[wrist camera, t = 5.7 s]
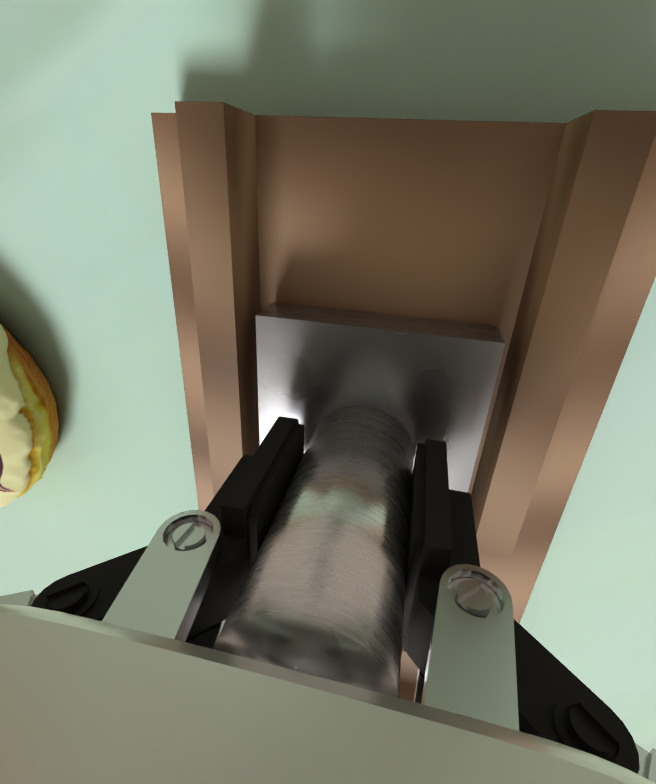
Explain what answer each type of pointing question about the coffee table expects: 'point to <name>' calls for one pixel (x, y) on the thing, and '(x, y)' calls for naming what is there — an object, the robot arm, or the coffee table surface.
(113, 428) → the coffee table surface
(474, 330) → the ram
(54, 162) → the coffee table surface
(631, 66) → the coffee table surface
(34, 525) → the coffee table surface
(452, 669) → the robot arm
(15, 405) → the decorated donut
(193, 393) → the brown piece
